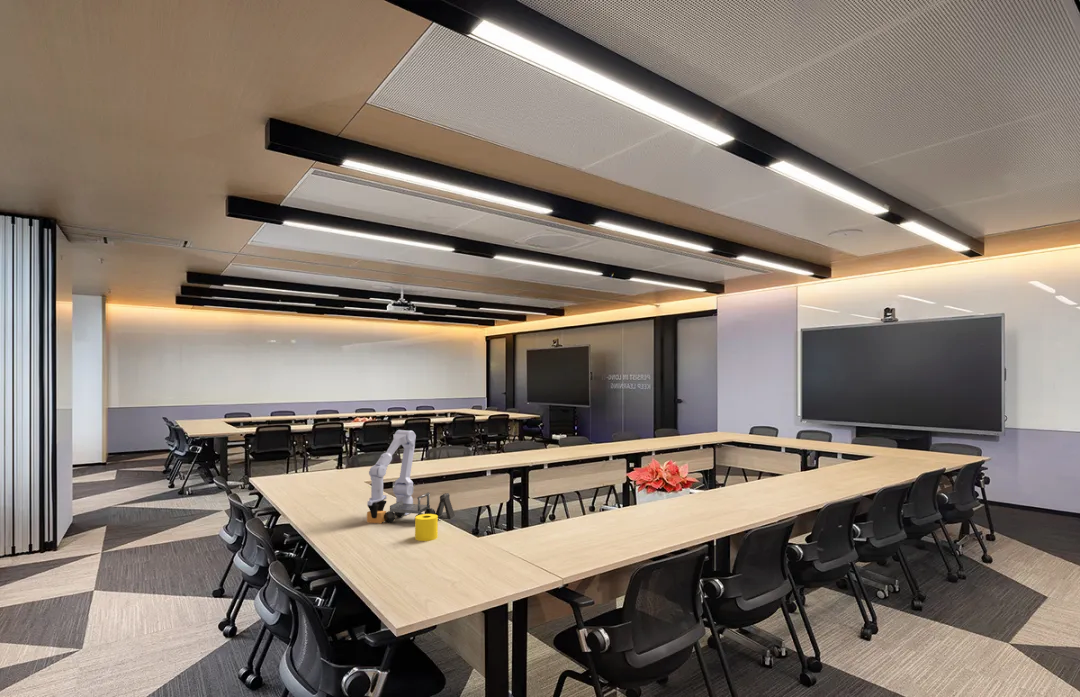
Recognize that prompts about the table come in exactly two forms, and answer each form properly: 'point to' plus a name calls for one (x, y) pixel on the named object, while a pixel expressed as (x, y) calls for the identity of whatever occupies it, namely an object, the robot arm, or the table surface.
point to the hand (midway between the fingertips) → (376, 516)
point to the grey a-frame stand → (448, 507)
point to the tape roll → (426, 527)
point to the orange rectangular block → (378, 519)
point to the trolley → (408, 509)
